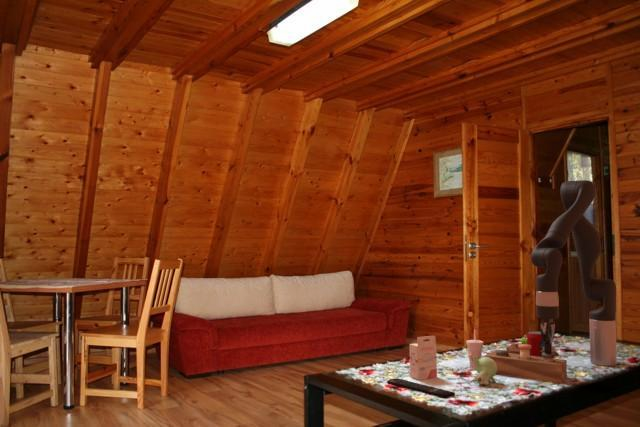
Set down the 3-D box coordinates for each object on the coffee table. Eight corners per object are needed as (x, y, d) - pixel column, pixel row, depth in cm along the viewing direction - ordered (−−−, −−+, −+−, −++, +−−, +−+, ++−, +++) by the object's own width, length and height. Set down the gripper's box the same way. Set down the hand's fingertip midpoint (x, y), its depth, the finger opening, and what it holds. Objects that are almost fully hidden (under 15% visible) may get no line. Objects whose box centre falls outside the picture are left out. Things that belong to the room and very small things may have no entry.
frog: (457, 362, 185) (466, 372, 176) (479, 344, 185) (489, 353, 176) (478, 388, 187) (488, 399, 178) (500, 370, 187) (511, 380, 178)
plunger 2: (543, 371, 192) (543, 351, 192) (556, 373, 189) (556, 353, 189) (540, 374, 188) (540, 353, 188) (554, 375, 185) (553, 355, 186)
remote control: (444, 400, 164) (444, 395, 164) (385, 384, 182) (385, 380, 182) (454, 396, 167) (454, 392, 167) (396, 381, 185) (396, 378, 185)
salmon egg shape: (520, 362, 196) (519, 343, 197) (532, 364, 194) (532, 345, 194) (517, 365, 193) (516, 345, 193) (529, 366, 190) (529, 346, 190)
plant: (559, 351, 235) (558, 326, 236) (553, 360, 218) (552, 332, 219) (511, 347, 245) (511, 322, 246) (502, 355, 228) (502, 328, 229)
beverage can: (547, 365, 208) (546, 334, 208) (529, 364, 209) (528, 333, 210) (543, 361, 214) (543, 331, 215) (525, 360, 216) (525, 330, 216)
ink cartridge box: (428, 374, 194) (427, 333, 195) (437, 377, 189) (436, 335, 190) (409, 377, 190) (408, 335, 191) (417, 380, 185) (417, 337, 186)
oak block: (493, 367, 204) (492, 351, 205) (566, 376, 190) (566, 359, 190) (484, 372, 196) (484, 355, 197) (561, 383, 182) (561, 365, 182)
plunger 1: (498, 368, 201) (498, 349, 201) (510, 369, 198) (510, 350, 198) (494, 370, 197) (494, 351, 197) (507, 372, 194) (506, 352, 195)
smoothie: (484, 365, 207) (484, 329, 208) (482, 369, 201) (481, 331, 202) (467, 364, 210) (467, 328, 210) (465, 367, 204) (464, 330, 205)
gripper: (554, 306, 182) (555, 358, 181) (562, 303, 193) (563, 351, 192) (531, 305, 186) (532, 355, 186) (540, 301, 197) (541, 349, 196)
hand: (548, 353), depth 189 cm, fingers closed
